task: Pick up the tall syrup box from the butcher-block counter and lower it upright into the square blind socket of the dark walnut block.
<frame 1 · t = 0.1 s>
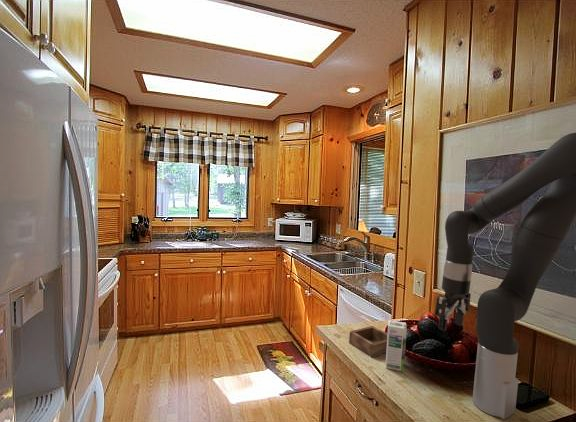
hand: (450, 327, 101), 17 cm above the worktop, tool pointing down, fingers open, 8 cm apart
syrup box: (394, 366, 110), on the worktop
socket block: (372, 346, 122), on the worktop
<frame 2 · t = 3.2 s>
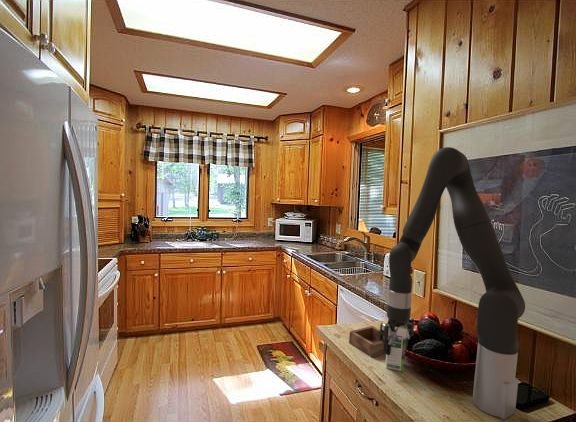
hand: (395, 351, 109), 5 cm above the worktop, tool pointing down, fingers closed on syrup box, 8 cm apart
syrup box: (394, 366, 110), on the worktop, touching gripper
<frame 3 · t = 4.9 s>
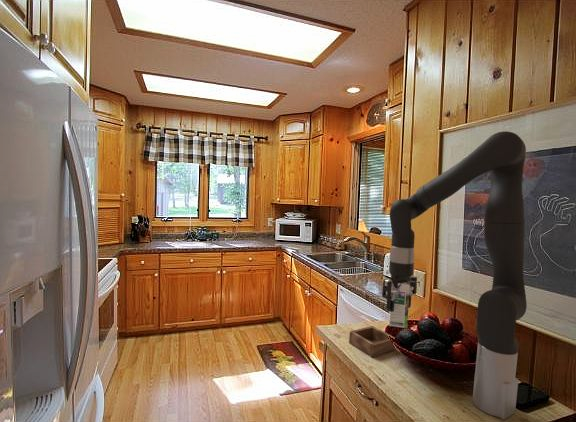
hand: (398, 309, 108), 20 cm above the worktop, tool pointing down, fingers closed on syrup box, 8 cm apart
syrup box: (397, 324, 108), point 14 cm above the worktop, touching gripper
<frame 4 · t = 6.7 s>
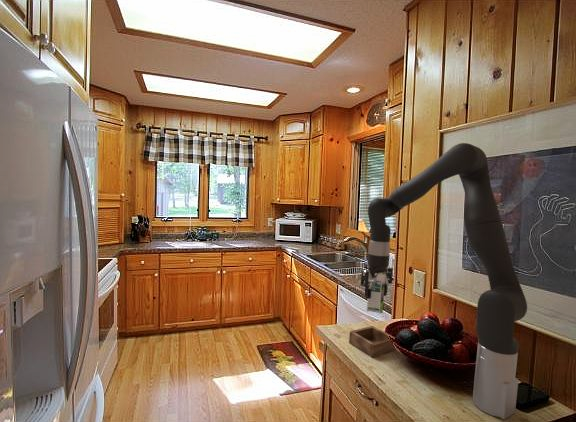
hand: (375, 296, 121), 19 cm above the worktop, tool pointing down, fingers closed on syrup box, 8 cm apart
syrup box: (374, 310, 121), point 14 cm above the worktop, touching gripper
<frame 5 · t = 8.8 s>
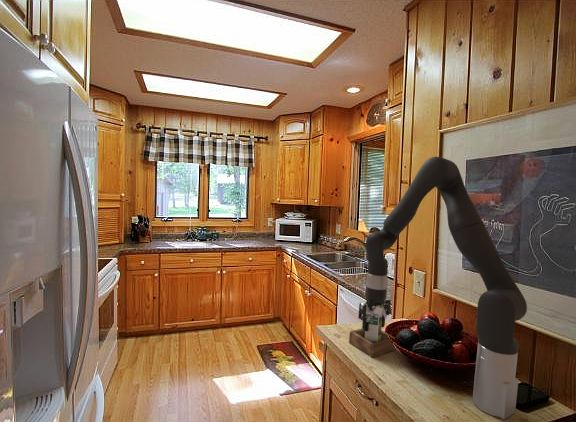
hand: (373, 328, 122), 7 cm above the worktop, tool pointing down, fingers closed on syrup box, 8 cm apart
syrup box: (372, 342, 122), point 2 cm above the worktop, touching gripper
when the fingers open (7 cm above the worktop, at t = 9.9 s): syrup box drops 1 cm, resting on socket block.
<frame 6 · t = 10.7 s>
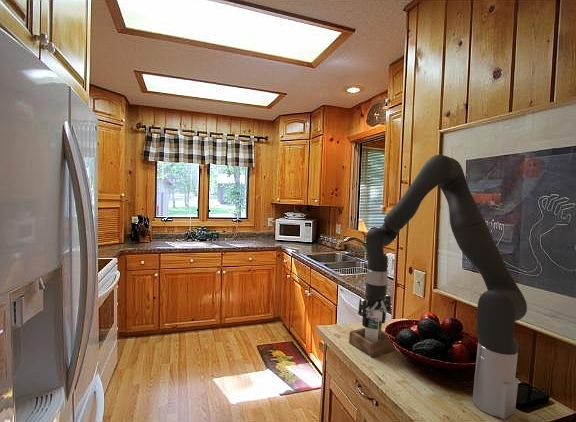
hand: (373, 324, 121), 9 cm above the worktop, tool pointing down, fingers open, 8 cm apart
syrup box: (372, 346, 122), resting on socket block, touching gripper
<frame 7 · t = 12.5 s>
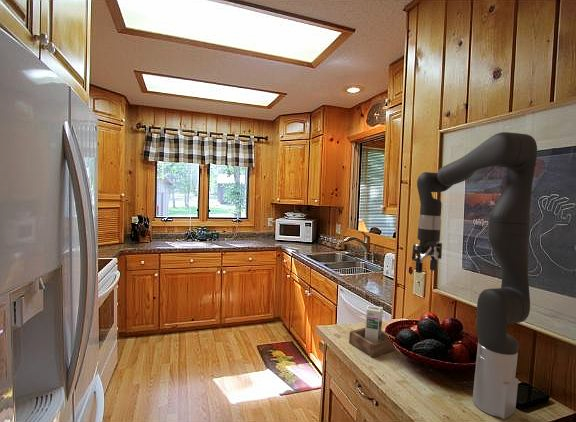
hand: (425, 271, 120), 29 cm above the worktop, tool pointing down, fingers open, 8 cm apart
syrup box: (372, 346, 122), resting on socket block
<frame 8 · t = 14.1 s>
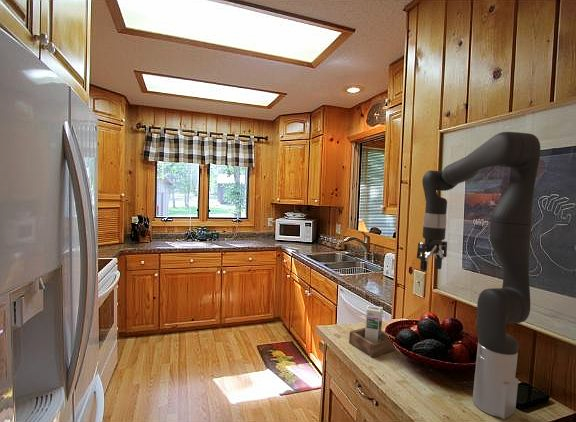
hand: (430, 269, 120), 30 cm above the worktop, tool pointing down, fingers open, 8 cm apart
nothing on the worktop moved.
at the end: syrup box 0.1 cm off-centre on the socket block, point 0.2 cm above the socket block's base; syrup box tilted 0°; the gripper is holding nothing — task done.
